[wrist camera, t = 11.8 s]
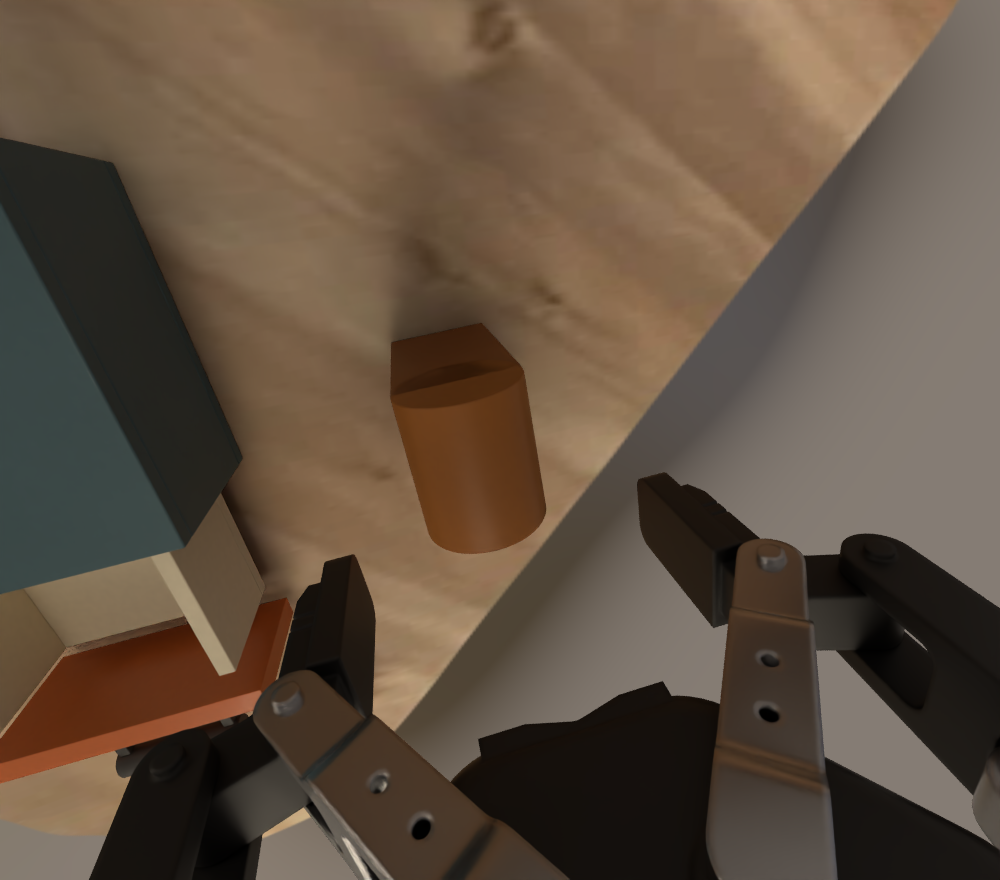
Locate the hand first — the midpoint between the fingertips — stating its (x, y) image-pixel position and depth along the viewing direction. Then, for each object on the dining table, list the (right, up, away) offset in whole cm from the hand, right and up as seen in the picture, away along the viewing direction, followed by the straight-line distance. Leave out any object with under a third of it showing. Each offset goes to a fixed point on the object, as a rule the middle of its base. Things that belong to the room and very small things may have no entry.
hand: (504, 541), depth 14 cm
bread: (-3, +6, +14) cm, 16 cm away
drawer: (-20, -5, +15) cm, 25 cm away
